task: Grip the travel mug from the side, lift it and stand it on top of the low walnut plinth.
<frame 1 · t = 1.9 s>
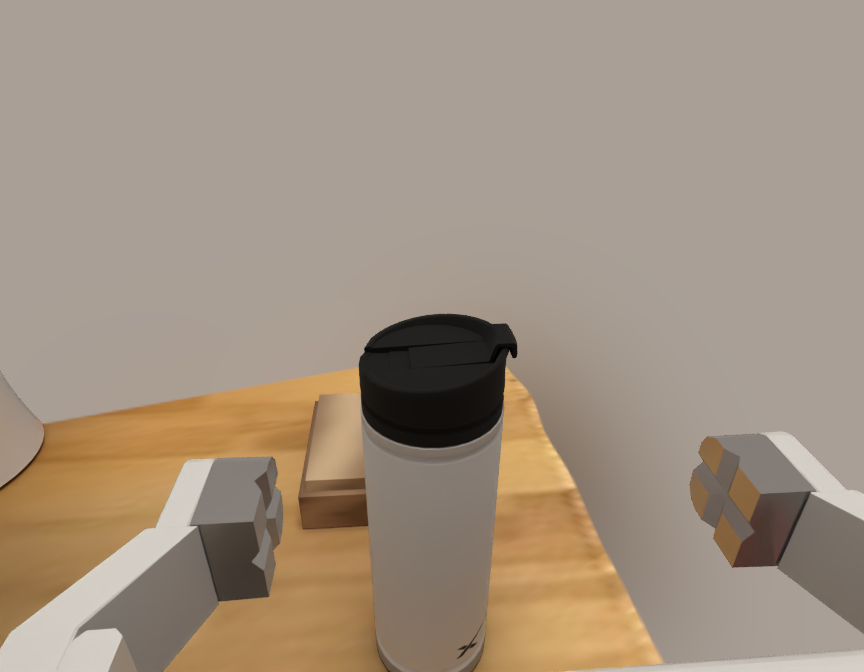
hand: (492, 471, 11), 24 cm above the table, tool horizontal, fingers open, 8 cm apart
plinth: (381, 470, 45), on the table
travel mug: (433, 637, 33), on the table
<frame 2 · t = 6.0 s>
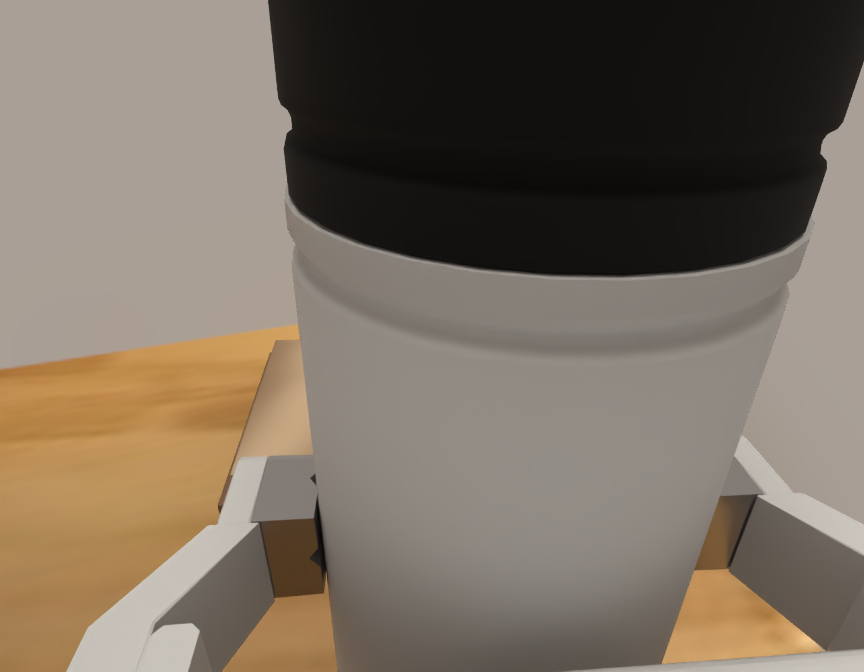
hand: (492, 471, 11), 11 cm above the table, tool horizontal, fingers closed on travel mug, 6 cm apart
plinth: (374, 460, 27), on the table
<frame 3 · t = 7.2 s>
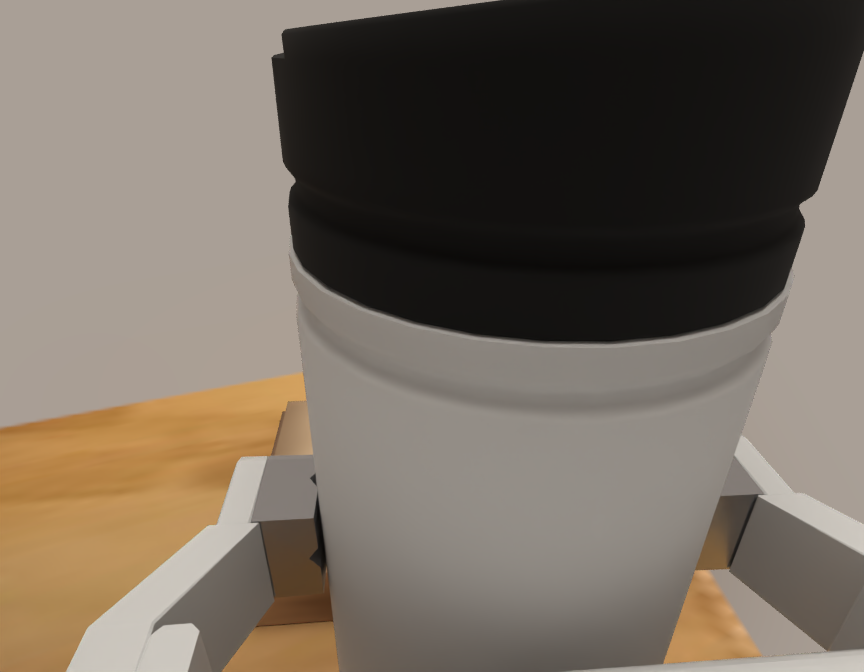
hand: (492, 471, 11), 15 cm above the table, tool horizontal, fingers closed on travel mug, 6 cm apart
plinth: (383, 518, 29), on the table
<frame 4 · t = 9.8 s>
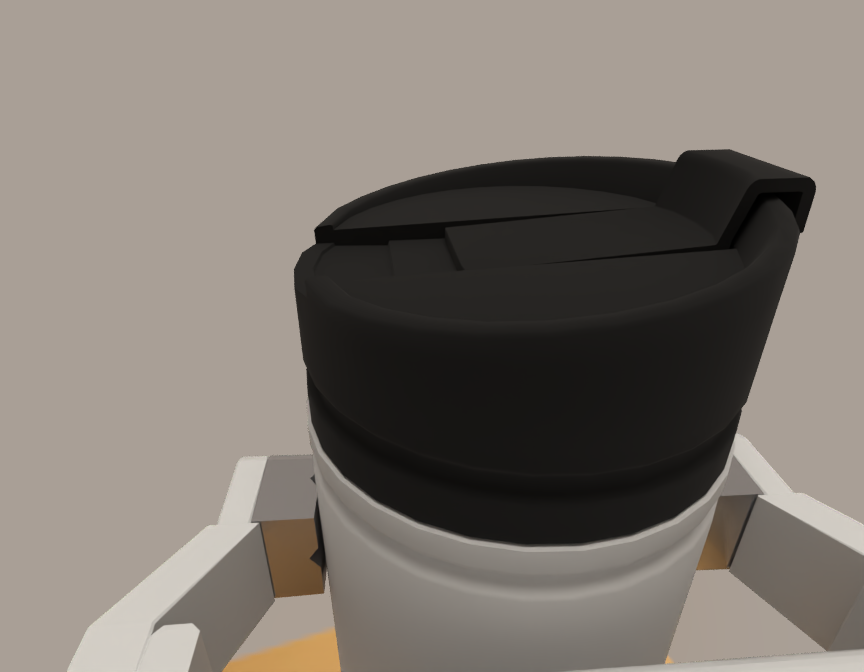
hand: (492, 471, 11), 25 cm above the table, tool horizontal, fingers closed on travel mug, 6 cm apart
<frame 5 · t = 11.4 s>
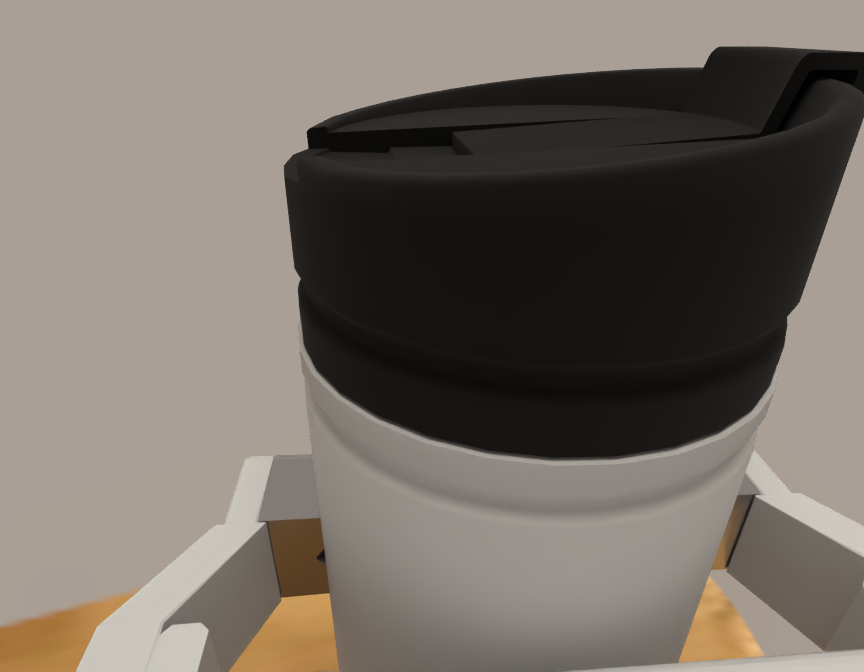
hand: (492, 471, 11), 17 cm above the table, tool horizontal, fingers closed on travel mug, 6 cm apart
when the fingers open (17 cm above the table, at t = 11.7 s): travel mug stays where it is, resting on plinth.
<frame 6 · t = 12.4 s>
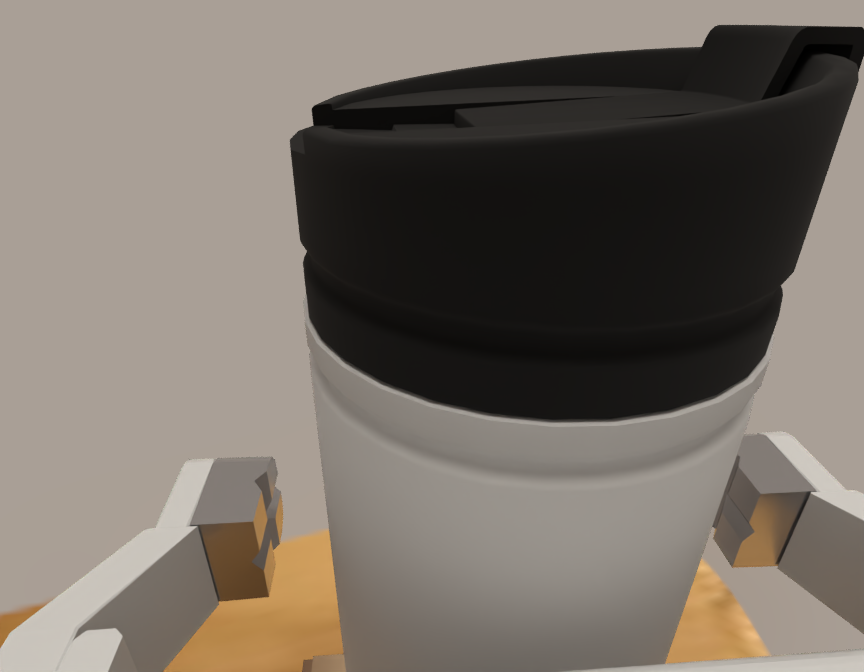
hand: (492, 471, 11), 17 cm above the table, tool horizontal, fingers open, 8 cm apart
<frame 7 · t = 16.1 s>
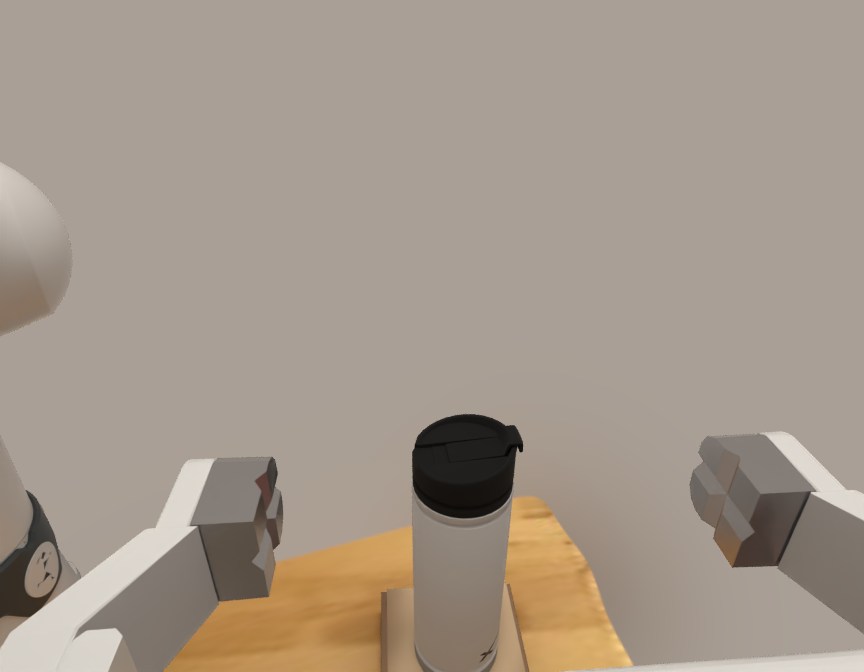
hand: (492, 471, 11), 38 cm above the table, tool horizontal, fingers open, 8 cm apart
travel mug: (457, 646, 43), point 4 cm above the table, touching plinth
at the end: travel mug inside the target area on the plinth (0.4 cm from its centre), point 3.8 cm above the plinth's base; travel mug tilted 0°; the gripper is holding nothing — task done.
